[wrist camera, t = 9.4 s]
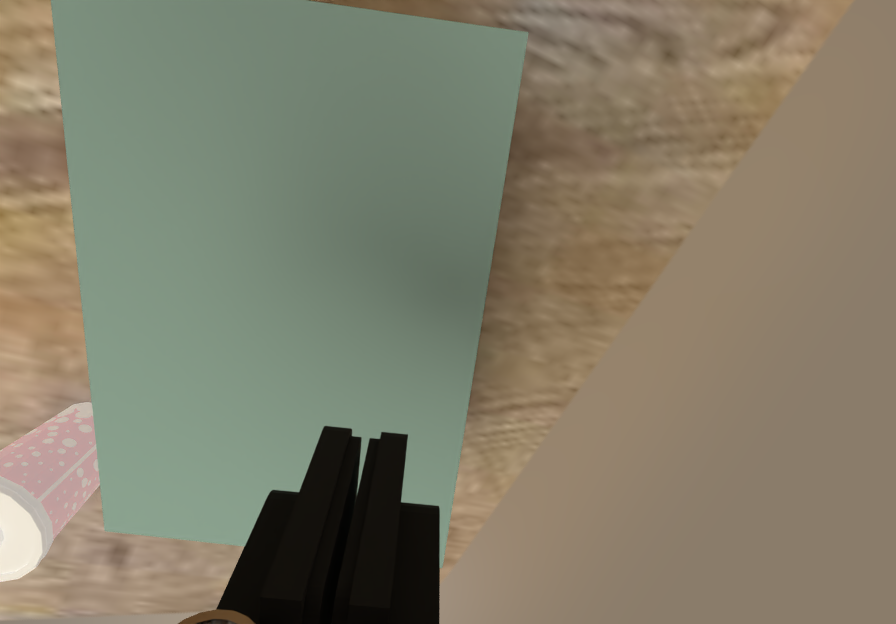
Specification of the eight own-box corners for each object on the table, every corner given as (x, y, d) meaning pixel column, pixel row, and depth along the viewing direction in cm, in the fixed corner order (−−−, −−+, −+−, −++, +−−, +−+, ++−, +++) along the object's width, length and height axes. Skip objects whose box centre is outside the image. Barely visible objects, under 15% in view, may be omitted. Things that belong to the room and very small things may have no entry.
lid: (69, -28, 17) (46, -38, 16) (524, 37, 17) (528, 32, 16) (118, 515, 24) (104, 530, 23) (442, 550, 24) (442, 567, 23)
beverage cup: (26, 410, 34) (-244, 592, 21) (107, 377, 33) (-122, 544, 20) (84, 485, 36) (-131, 695, 23) (161, 455, 35) (-16, 655, 22)
